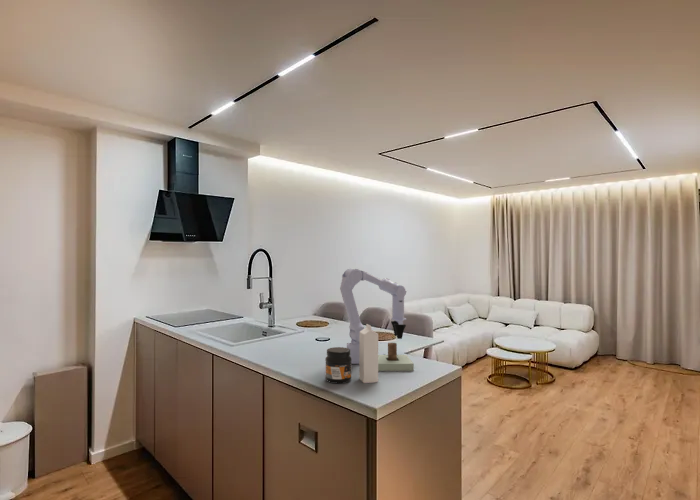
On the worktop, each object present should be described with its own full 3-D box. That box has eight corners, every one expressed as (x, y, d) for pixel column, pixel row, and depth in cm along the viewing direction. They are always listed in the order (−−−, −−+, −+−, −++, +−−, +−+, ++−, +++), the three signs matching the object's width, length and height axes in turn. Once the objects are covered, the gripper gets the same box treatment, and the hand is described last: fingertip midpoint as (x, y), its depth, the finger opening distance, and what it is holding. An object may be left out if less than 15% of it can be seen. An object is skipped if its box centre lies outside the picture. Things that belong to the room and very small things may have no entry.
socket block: (377, 370, 161) (377, 363, 161) (372, 361, 176) (373, 354, 177) (413, 370, 161) (413, 363, 161) (406, 361, 177) (406, 354, 177)
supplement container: (334, 386, 140) (334, 354, 141) (320, 379, 149) (320, 348, 149) (356, 381, 147) (357, 350, 147) (341, 374, 155) (341, 345, 156)
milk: (363, 383, 144) (363, 326, 144) (359, 378, 149) (359, 323, 150) (378, 382, 145) (378, 325, 146) (373, 377, 151) (373, 323, 152)
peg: (388, 367, 167) (388, 344, 167) (387, 364, 171) (387, 342, 171) (397, 366, 167) (397, 344, 167) (396, 364, 171) (395, 342, 171)
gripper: (409, 311, 176) (409, 340, 175) (403, 307, 190) (403, 334, 190) (394, 311, 176) (394, 340, 175) (389, 307, 190) (389, 334, 190)
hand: (398, 337), depth 183 cm, fingers open, 7 cm apart
